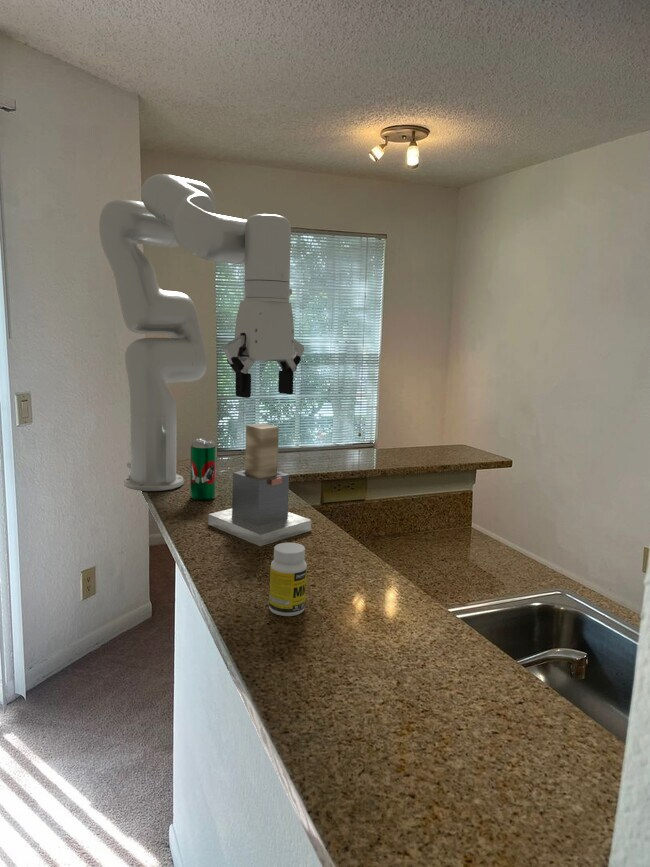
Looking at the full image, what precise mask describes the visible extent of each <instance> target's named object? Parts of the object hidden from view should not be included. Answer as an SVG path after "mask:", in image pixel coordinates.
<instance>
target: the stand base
mask: <svg viewBox="0 0 650 867" xmlns="http://www.w3.org/2000/svg"><path fill="white" fill-rule="evenodd" d="M289 486H290V474H288V473H285V472H282V471H279V470H277V475H275V476H270V477H265V478H261V479H259V478H256V477H253V476H250V475H246V474H245V469H244V470H238V471H235V472H232V493H231V494H232V502H231V505H232V506H231V508H228V509H224V510H219V511H216V512H212V513H209V514H208V526H210V527H213V528H215V529H218V530H220V531H223V532H225V533H227V534H229V535H232V536H235V537H237V538H240V539H242V540H244V541H246V542H249V543H251V544H253V545H256V546H258V547H263V546H266V545H269V544H273V543H275V542H280V541H282V540H286V539H288V538H292V537H294V536H297V535H301V534H304V533H309V532H311V531H312V519H310V518H307V517H304V516H301V515H298V514H295V513H292V512H290V511H289V492H290V491H289V489H290V487H289Z"/></svg>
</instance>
